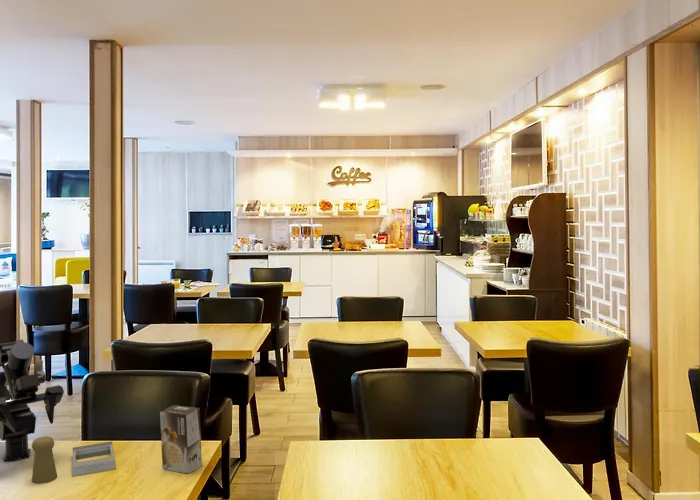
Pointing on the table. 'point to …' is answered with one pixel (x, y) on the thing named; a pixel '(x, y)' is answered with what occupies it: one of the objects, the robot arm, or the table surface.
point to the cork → (43, 460)
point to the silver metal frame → (95, 464)
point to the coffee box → (181, 438)
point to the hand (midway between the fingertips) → (34, 427)
